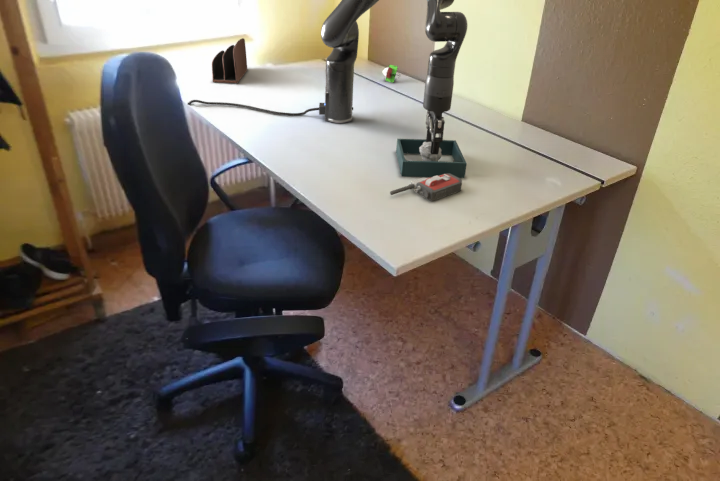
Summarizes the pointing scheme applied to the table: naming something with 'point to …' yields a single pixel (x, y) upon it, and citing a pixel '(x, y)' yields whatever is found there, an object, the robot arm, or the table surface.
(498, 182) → the table surface
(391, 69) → the geometric puzzle
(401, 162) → the open box
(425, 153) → the white rounded figurine
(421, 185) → the walkie-talkie
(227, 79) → the letter holder
